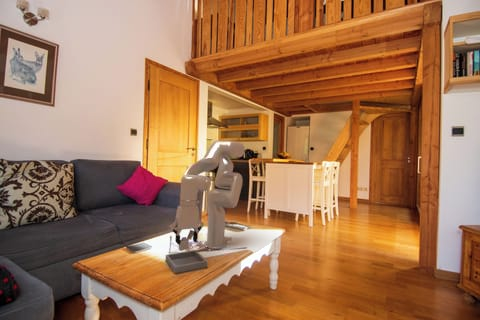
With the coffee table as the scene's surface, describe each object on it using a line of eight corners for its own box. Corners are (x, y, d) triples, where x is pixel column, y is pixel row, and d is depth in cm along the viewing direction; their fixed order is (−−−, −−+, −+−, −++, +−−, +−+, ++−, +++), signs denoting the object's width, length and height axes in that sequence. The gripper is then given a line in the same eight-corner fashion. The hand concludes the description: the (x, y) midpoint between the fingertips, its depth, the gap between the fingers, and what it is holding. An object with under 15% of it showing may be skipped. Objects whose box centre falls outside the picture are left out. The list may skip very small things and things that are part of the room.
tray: (195, 256, 124) (195, 250, 124) (207, 267, 111) (207, 261, 111) (165, 261, 116) (165, 254, 116) (174, 274, 104) (174, 267, 104)
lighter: (180, 250, 110) (181, 232, 110) (178, 249, 111) (179, 231, 111) (193, 247, 115) (194, 230, 115) (191, 246, 117) (192, 229, 117)
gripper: (203, 201, 121) (201, 237, 121) (167, 202, 112) (165, 242, 112) (209, 203, 115) (207, 242, 115) (171, 205, 106) (169, 247, 106)
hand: (186, 242), depth 113 cm, fingers closed on lighter, 7 cm apart
